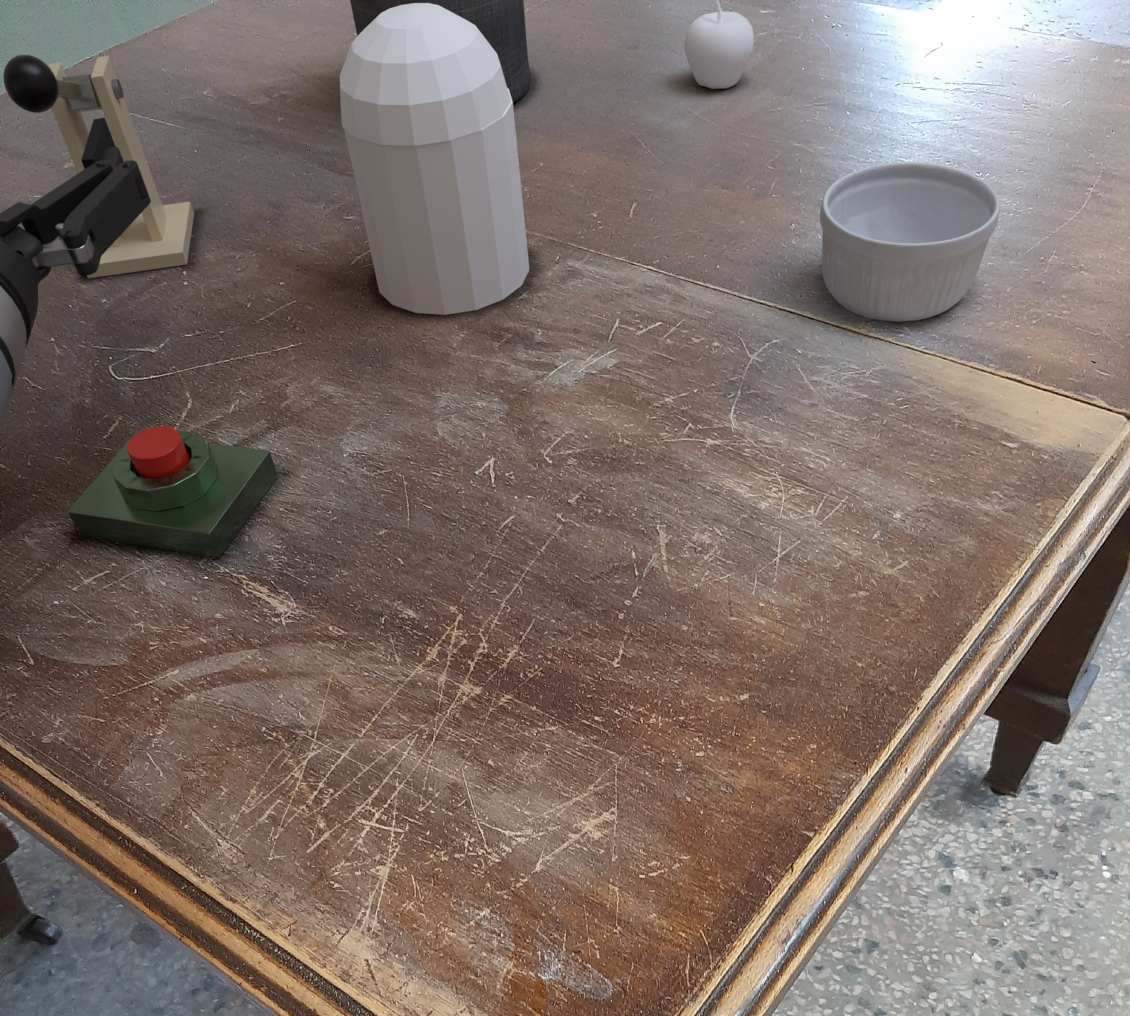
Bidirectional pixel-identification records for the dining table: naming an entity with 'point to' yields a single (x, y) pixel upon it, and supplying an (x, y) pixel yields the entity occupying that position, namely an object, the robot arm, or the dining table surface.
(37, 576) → the dining table surface
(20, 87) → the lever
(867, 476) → the dining table surface
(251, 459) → the green switch base
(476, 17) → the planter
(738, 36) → the plain white apple
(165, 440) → the button
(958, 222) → the ramekin
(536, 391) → the dining table surface
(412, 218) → the container
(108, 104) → the pendulum stand
